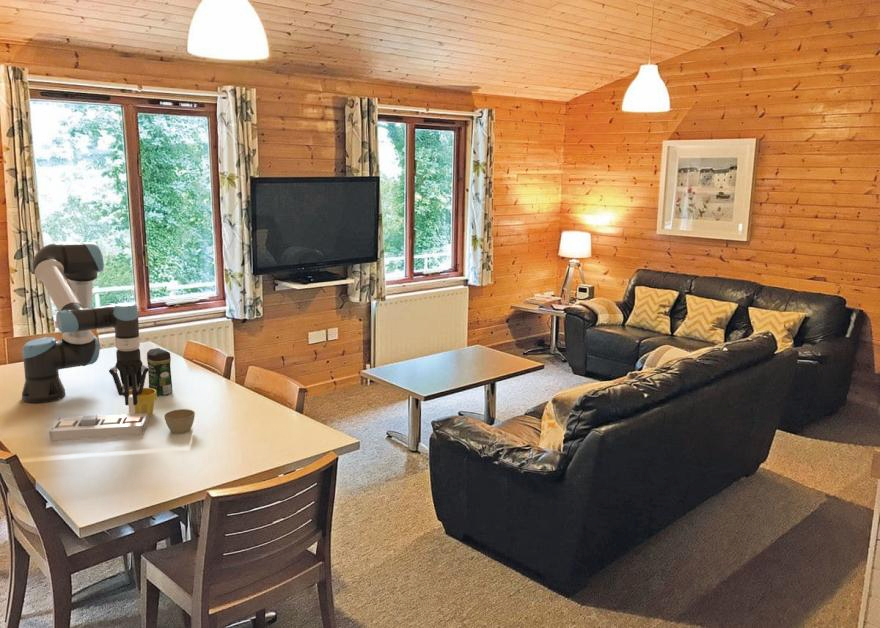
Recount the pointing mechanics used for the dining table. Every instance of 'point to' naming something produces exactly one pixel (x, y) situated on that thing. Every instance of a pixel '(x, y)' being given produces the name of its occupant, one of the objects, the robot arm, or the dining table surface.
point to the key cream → (67, 424)
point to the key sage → (111, 421)
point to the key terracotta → (133, 420)
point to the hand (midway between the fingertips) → (132, 413)
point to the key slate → (89, 420)
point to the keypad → (99, 428)
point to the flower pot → (179, 420)
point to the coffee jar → (159, 371)
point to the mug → (138, 378)
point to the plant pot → (145, 401)
